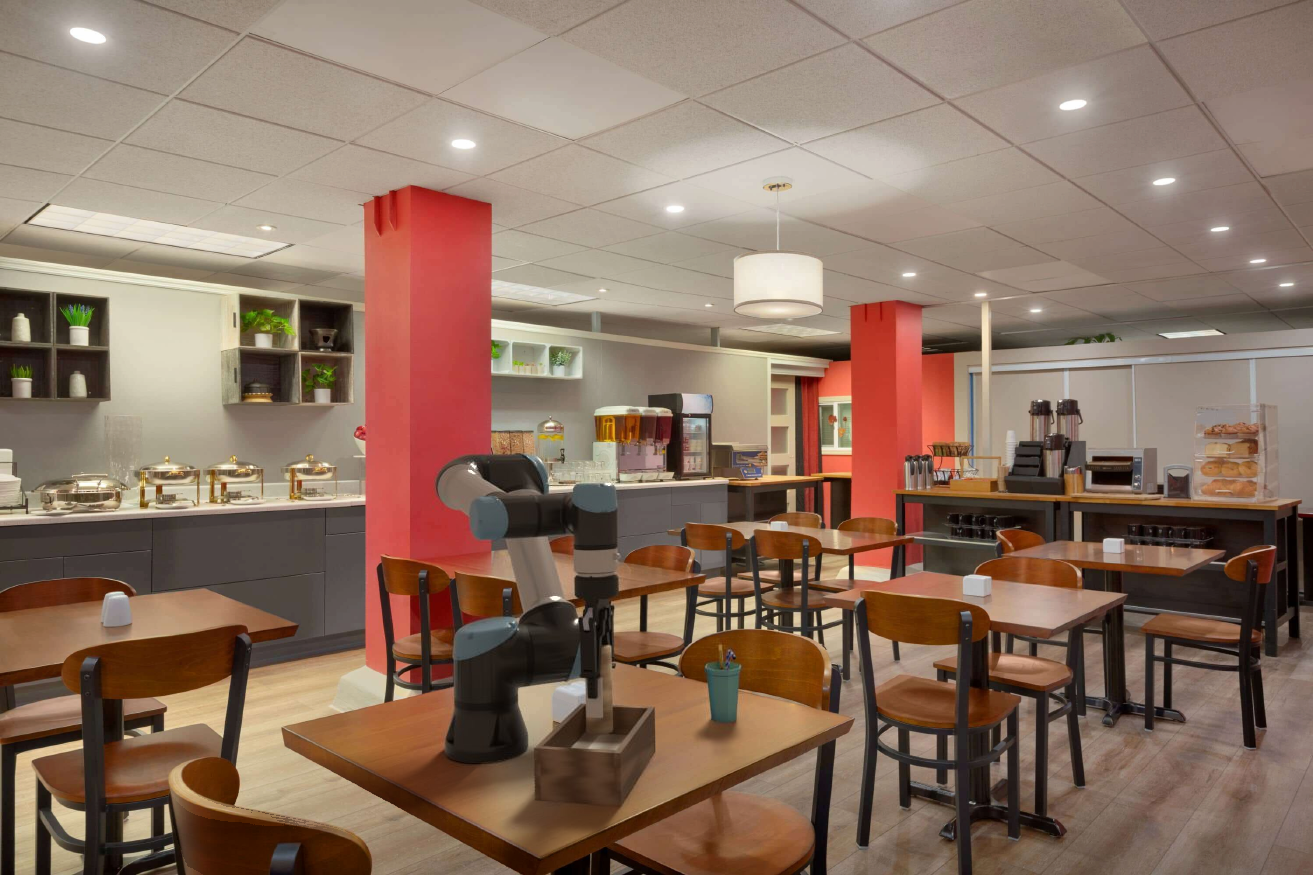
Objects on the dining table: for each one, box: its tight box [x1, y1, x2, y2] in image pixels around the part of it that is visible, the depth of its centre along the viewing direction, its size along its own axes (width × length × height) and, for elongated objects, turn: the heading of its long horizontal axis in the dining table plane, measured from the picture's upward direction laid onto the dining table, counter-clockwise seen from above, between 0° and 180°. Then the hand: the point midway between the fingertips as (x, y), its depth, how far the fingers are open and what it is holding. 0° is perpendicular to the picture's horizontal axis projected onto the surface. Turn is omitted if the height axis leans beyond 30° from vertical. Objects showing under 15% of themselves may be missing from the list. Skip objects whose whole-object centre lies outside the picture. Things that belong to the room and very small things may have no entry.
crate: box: [533, 702, 657, 807], centre depth 140 cm, size 14×24×8 cm, turn 167°
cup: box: [704, 644, 742, 724], centre depth 167 cm, size 14×8×15 cm, turn 12°
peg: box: [584, 645, 614, 735], centre depth 140 cm, size 4×4×14 cm
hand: (599, 711), depth 140 cm, fingers closed on peg, 4 cm apart
